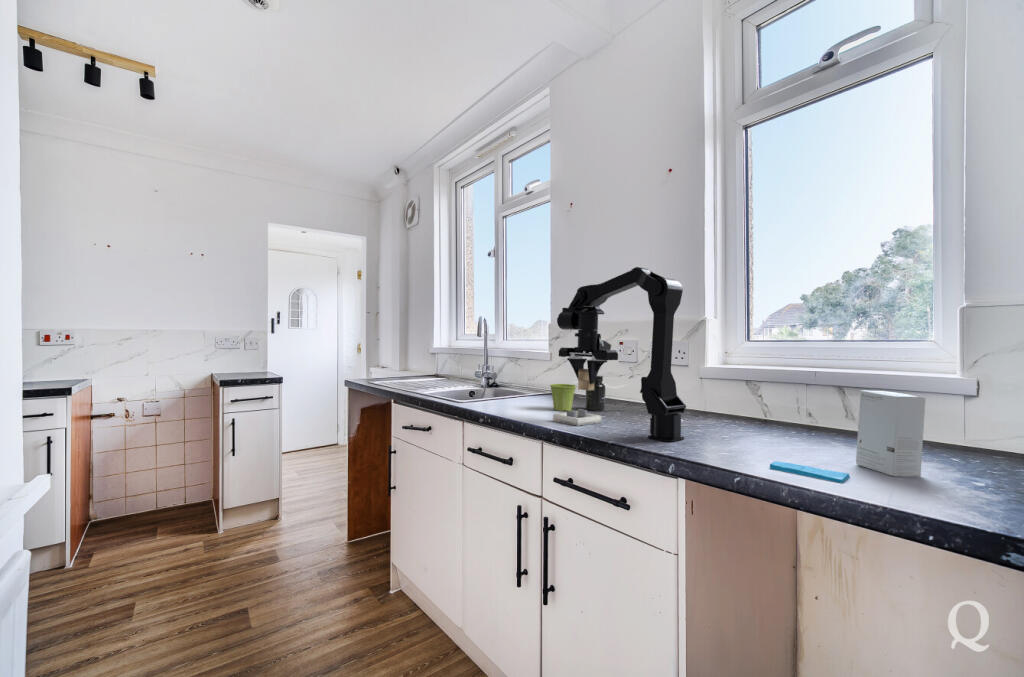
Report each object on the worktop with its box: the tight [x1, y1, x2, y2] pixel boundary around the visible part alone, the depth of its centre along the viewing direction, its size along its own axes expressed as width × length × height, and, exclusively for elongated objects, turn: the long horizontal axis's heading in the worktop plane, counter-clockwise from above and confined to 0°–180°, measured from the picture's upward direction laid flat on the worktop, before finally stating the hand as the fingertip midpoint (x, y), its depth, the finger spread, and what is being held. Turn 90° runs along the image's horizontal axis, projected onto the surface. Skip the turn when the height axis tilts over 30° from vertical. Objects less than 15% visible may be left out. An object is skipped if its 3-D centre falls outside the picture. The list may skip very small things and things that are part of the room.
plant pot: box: [549, 383, 578, 412], centre depth 156 cm, size 9×9×9 cm
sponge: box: [769, 461, 850, 484], centre depth 83 cm, size 2×12×6 cm
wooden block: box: [577, 368, 594, 391], centre depth 132 cm, size 4×2×6 cm, turn 39°
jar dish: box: [552, 408, 602, 427], centre depth 133 cm, size 10×10×3 cm
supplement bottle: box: [585, 375, 606, 412], centre depth 157 cm, size 7×7×12 cm
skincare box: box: [855, 389, 926, 478], centre depth 85 cm, size 8×6×15 cm
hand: (586, 383), depth 132 cm, fingers closed on wooden block, 4 cm apart
